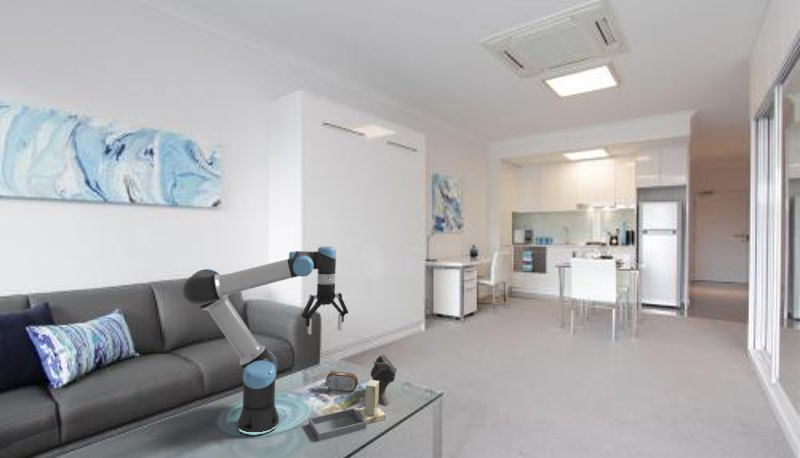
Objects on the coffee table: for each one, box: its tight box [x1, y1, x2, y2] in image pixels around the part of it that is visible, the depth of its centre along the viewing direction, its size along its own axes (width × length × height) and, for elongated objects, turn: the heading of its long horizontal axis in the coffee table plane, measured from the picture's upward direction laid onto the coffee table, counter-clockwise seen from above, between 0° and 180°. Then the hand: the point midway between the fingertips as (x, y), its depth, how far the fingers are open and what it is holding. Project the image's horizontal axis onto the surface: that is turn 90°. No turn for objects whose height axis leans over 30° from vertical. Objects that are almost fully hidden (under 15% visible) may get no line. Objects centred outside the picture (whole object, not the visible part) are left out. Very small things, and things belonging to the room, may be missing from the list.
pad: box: [355, 406, 386, 425], centre depth 168 cm, size 9×9×2 cm
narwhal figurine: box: [370, 355, 397, 407], centre depth 187 cm, size 14×15×18 cm
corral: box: [308, 407, 367, 442], centre depth 159 cm, size 19×12×2 cm, turn 120°
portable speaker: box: [325, 371, 359, 393], centre depth 190 cm, size 15×3×8 cm, turn 84°
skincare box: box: [364, 379, 379, 416], centre depth 167 cm, size 6×4×12 cm
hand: (324, 331), depth 175 cm, fingers open, 13 cm apart
